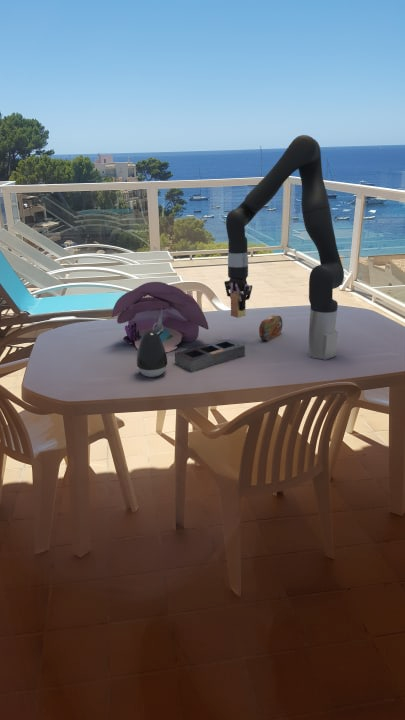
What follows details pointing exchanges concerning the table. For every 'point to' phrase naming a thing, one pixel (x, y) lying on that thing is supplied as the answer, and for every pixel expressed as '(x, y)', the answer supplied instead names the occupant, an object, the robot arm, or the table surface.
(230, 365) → the table surface
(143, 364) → the aroma diffuser
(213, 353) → the hole rail
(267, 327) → the tin
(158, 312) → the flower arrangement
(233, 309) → the square peg
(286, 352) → the table surface
